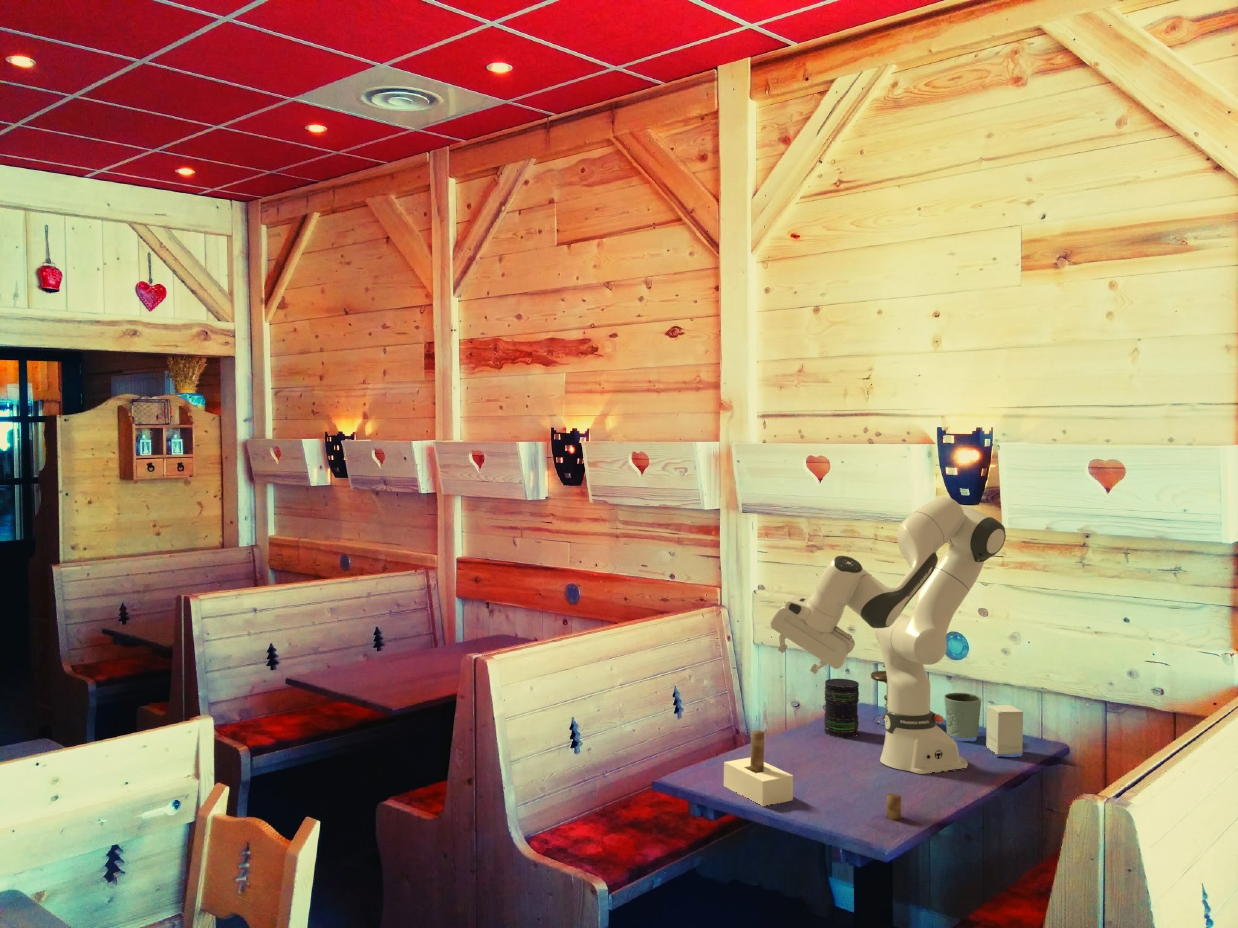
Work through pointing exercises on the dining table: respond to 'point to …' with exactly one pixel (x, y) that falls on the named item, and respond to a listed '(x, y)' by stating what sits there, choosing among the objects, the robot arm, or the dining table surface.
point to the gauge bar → (758, 782)
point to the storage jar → (841, 707)
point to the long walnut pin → (757, 751)
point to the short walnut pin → (893, 807)
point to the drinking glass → (962, 714)
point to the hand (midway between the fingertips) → (796, 661)
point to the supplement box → (1004, 729)
